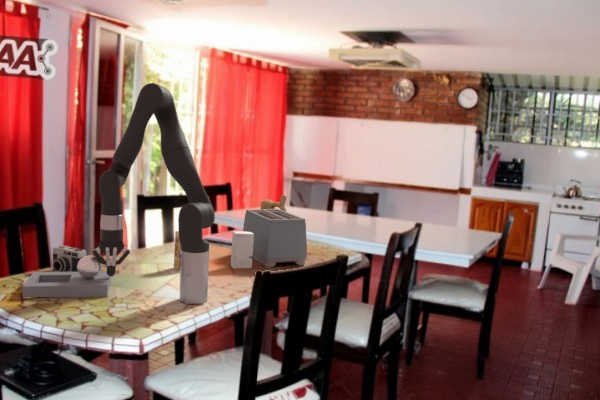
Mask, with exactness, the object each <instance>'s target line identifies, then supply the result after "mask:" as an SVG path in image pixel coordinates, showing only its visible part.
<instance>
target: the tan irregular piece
mask: <svg viewBox="0 0 600 400" xmlns="http://www.w3.org/2000/svg"><path fill="white" fill-rule="evenodd" d="M287 198H288V197H287V196H285V195H281V196H280V201H273V200H272V199H263V200H262V201H261V202H260V209H277V208H278V209H280V210H283V211H285V212H287V208H286V202H287ZM276 207H277V208H276Z"/></svg>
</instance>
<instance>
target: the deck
mask: <svg viewBox="0 0 600 400" xmlns="http://www.w3.org/2000/svg"><path fill="white" fill-rule="evenodd" d="M111 278H112V276H111V277H109V275H107V270H106V271H105V270H104V271H103V270H101V272H100V273H99V274H98V275H97V276H96V277H94V278H90V279H88V278H84V277H82V276H81V275H80V274H79V273H78V272H56V271H33V272H32V273H31V274H30V275H29V278H28V279H27V280H26V282H25V283H24V284H23V285H22V299H25V298H24V297H71V298H106V297H108V296H109V290H110V286H111V282H112V280H111Z"/></svg>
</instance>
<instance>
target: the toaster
mask: <svg viewBox="0 0 600 400" xmlns="http://www.w3.org/2000/svg"><path fill="white" fill-rule="evenodd" d="M242 229H243V230H242V231H244V232H252V233H253V234H254V242H253V255H252V260H254V261H255V262H257V263H259V264H261V265H262V266H263V267H265V268H274V267H275V266H276V265H277V264H278V263H290V262H292V263H293V264H295V263H296V265H297V266H300V267H301V266H305V264H306V262H305V261H306V260H307V257H308V248H307V247H308V246H307V245H308V242H307V223H306V218H305V217H304V218H303V217H301V216H298V215H295V214H293V213H290V212H287V211H286V212H285V211H283V210H281V209H280V208H276V209H261V208H260V209H259V208H258V209H257V208H256V209H246V210H245V214H244V221H243V227H242Z"/></svg>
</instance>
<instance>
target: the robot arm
mask: <svg viewBox="0 0 600 400" xmlns="http://www.w3.org/2000/svg"><path fill="white" fill-rule="evenodd" d="M153 115H154V118H155V119H156V122H157V125H158V126H159V130H160V151H161V152H160V153H161V157H162V158H163V161H164V164H165V167H166V169H167V171H168V173H169V174H170V176H171V177H172V178H173V179H174V180H175V182H177V184H178V185H179V186H180V187H181V188H182V190H183V191H184V193H185V195H186V197H187V201H188V203H185V204H183V205H182V206H181V208H180V209H179V213H178V218H177V220H178V222H177V223H178V231H179V241H180V244H181V267H180V271H179V278H180V279H179V301H180V302H181V303H184V305H198V304H199V305H200V304H201V305H202V304H203V305H204V303H206V302H207V301H208V289H209V288H208V287H209V262H210V261H209V260H210V259H209V258H210V242H209V241H208V240H206V239H204V238H203V230H204V229H208V228H210V227H211V226H213V225H214V223H215V218H216V216H215V215H216V214H215V210H214V207H213V204H212V202H211V201H210V198H209V196H208V194H207V192H206V189H205V188H204V185H203V183H202V180H201V178H200V175H199V172H198V169H197V167H196V164H195V161H194V158H193V154H192V153H191V149H190V146H189V144H188V141H187V140H186V136H185V134H184V133H185V132H184V131H183V128H182V126H181V123H180V120H179V116H178V112H177V108H176V104H175V100H174V96H173V94H172V93H171V91H170V90H169V89H168V88H166V87H165V86H162V85H161V84H158V83H154V82H150V83H149V82H148V83H147V84H145V85H143V87H142V88H141V89H140V91H139V94H138V96H137V99H136V102H135V105H134V109H133V110H132V114H131V116H130V119H129V122H128V125H127V126H126V130H125V131H124V134H123V136H122V137H121V141H120V142H119V144H118V146H117V147H116V149H115V151H114V153H113V156H112V162H111V165H110V166H109V168H108V170H105V171H104V172H102V173H101V174H100V177H99V181H98V182H99V183H98V184H99V186H98V187H99V192H100V193H99V194H100V199H101V210H100V211H101V213H100V223H99V225H100V229H99V230H100V232H99V235H100V237H99V238H100V239H99V240H100V242H99V243H98V247H96V248H94V249H93V250H92V254H93V256H95V257H96V258H97V259H98V260H99V261H100V262H101V264H102V265H104V266H106V271H107V275H109V277H111V278H112V277H114V276H115V275H116V272H117V271H116V266H117V265H121V264H122V263H123V262H124V260H125V259H126V258H127V257H128V256H129V254H130V253H131V249H130V248H127V247H125V243H124V225H125V224H124V213H123V212H124V211H123V210H124V202H123V198H121V188H122V187H123V186H124V185H125V183H126V181H127V179H128V177H129V174H130V173H131V172H130V171H131V168H132V166H133V164H134V163H135V161H136V160H137V158H138V156H139V153H140V151H141V150H142V146H143V143H144V139H145V134H146V133H145V132H146V129H147V126H148V124H149V121H150V120H151V118H152V116H153ZM101 252H102V253H103V256H102V254H101ZM121 252H122V254H121V256H120V257H119V258H118V259H117V257H118V256H119V255H120V253H121ZM104 256H105V258H104ZM111 257H112V260H111Z"/></svg>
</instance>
